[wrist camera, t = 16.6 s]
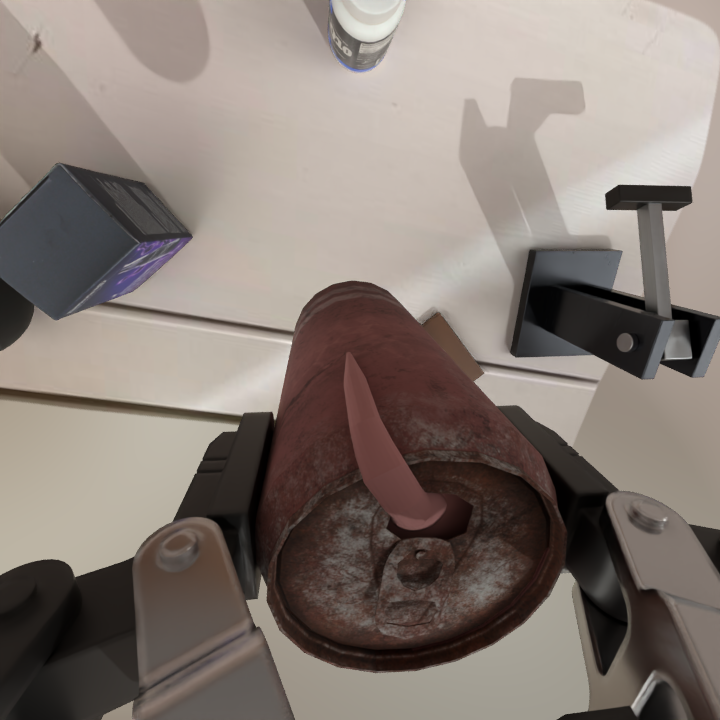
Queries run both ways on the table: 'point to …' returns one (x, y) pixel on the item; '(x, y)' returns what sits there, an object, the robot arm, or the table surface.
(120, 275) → the box
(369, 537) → the can
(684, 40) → the table surface
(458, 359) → the coaster
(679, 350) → the lever
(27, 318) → the decorative ball
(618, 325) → the bracket
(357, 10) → the pill bottle
